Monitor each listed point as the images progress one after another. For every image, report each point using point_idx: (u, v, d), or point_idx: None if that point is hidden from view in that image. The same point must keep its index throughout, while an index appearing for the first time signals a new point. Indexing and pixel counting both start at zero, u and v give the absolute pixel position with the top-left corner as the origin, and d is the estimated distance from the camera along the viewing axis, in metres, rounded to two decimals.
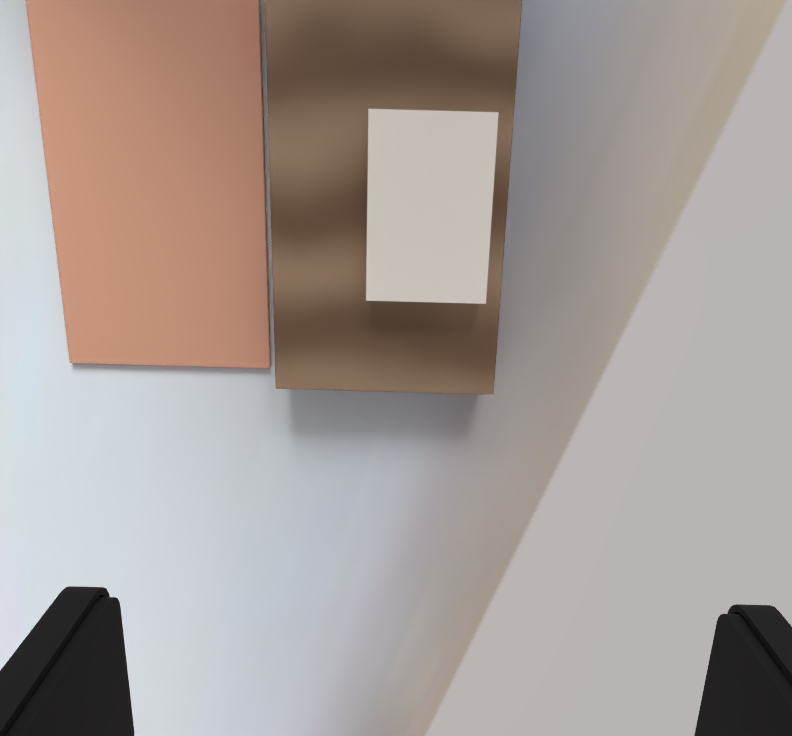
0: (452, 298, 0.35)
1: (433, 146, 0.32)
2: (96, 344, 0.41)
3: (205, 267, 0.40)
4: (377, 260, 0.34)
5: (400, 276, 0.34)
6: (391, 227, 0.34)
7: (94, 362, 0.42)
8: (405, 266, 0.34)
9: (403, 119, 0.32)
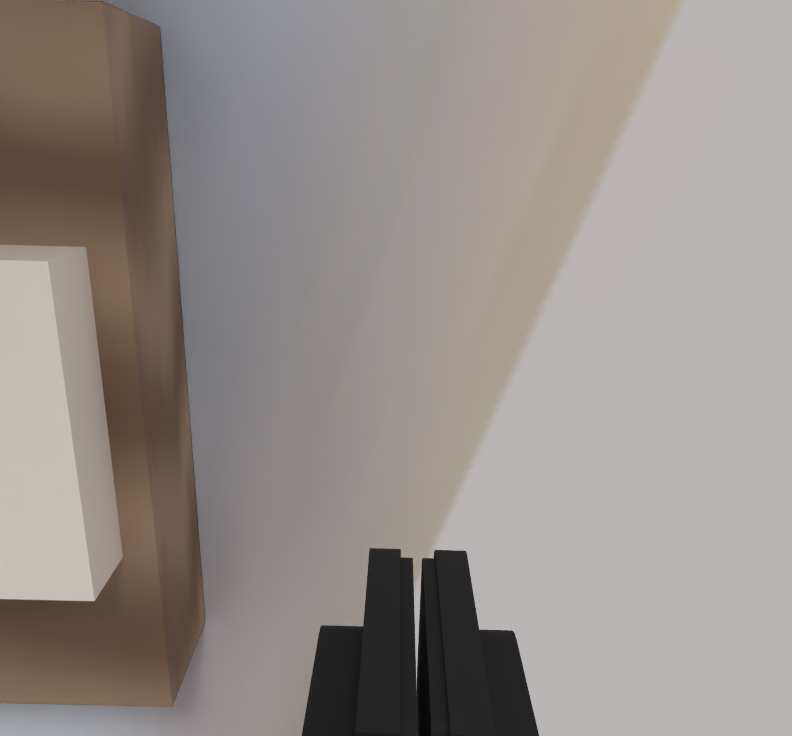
0: (29, 592, 0.18)
1: None
2: None
3: None
4: None
5: None
6: None
7: None
8: None
9: None
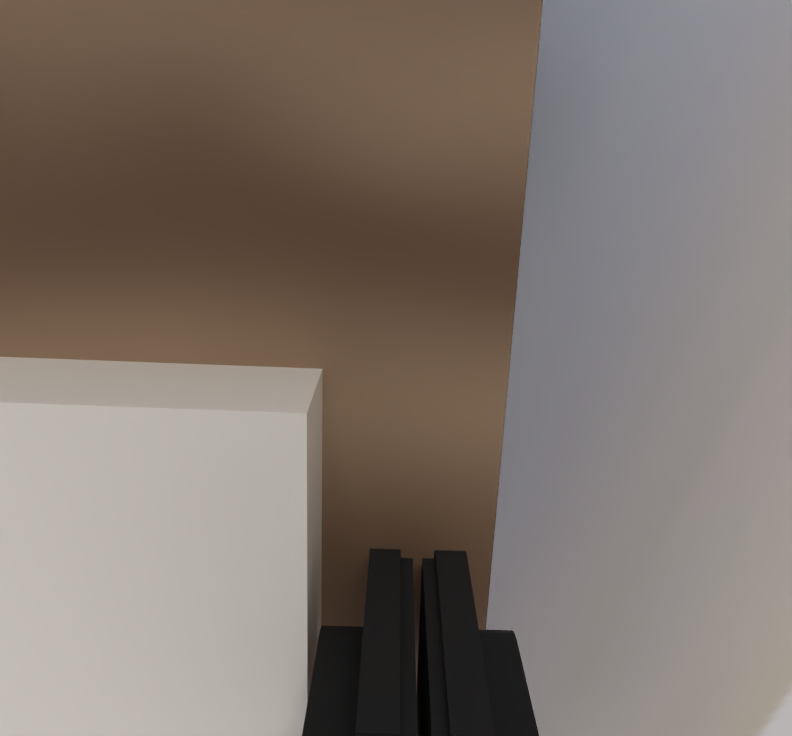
0: None
1: (98, 510, 0.10)
2: None
3: None
4: None
5: None
6: (1, 720, 0.11)
7: None
8: None
9: None
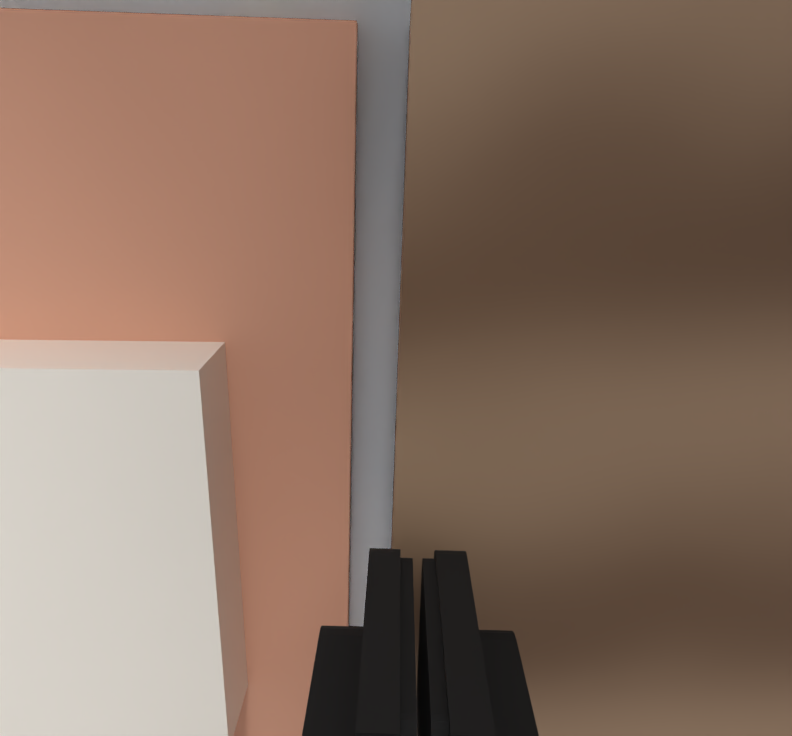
0: None
1: None
2: None
3: None
4: None
5: None
6: None
7: None
8: None
9: None
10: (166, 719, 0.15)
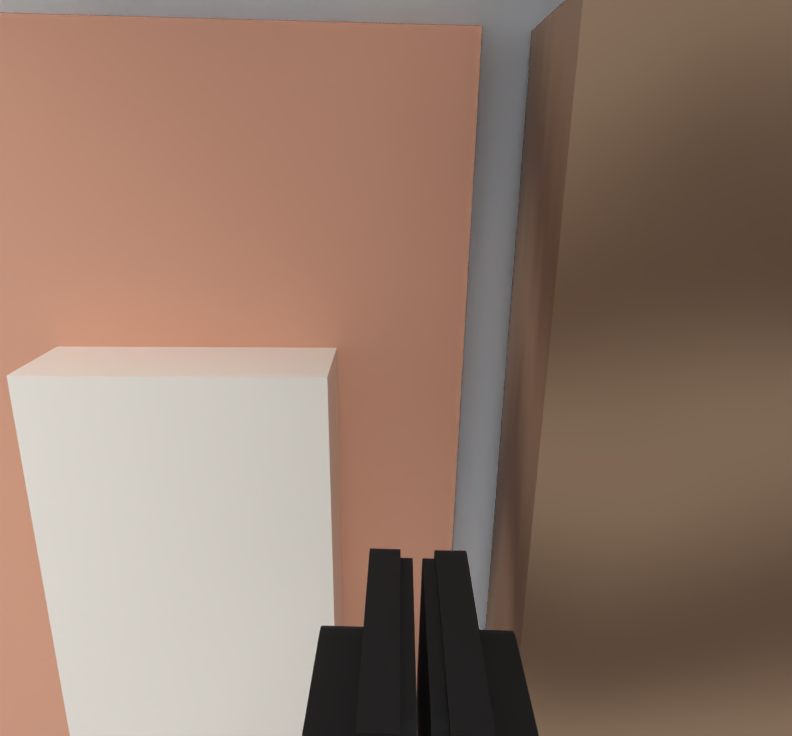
0: None
1: None
2: None
3: None
4: None
5: None
6: None
7: None
8: None
9: None
10: (276, 725, 0.15)
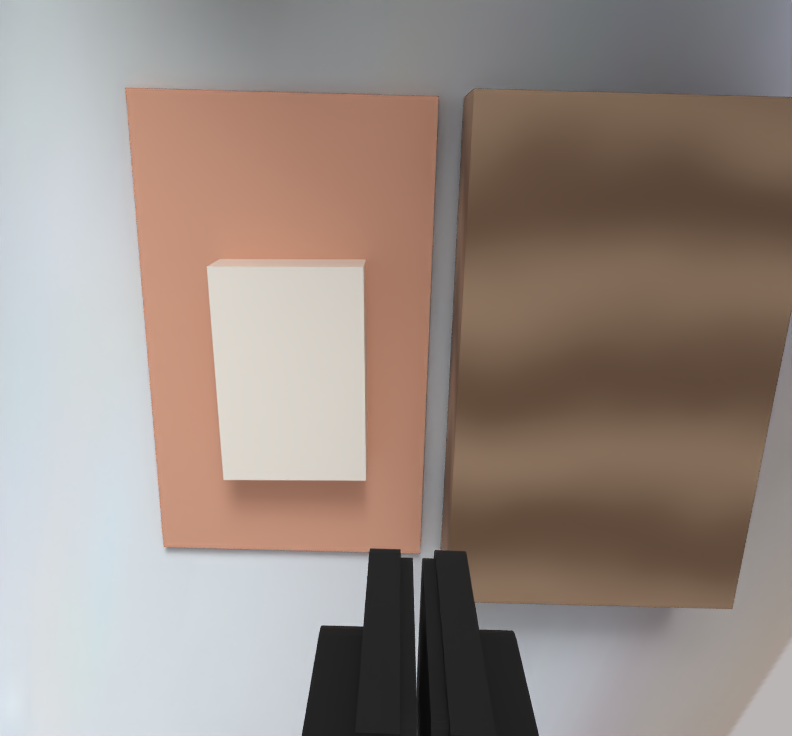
0: None
1: None
2: (198, 525, 0.32)
3: None
4: None
5: None
6: None
7: (195, 546, 0.32)
8: None
9: None
10: (333, 461, 0.29)
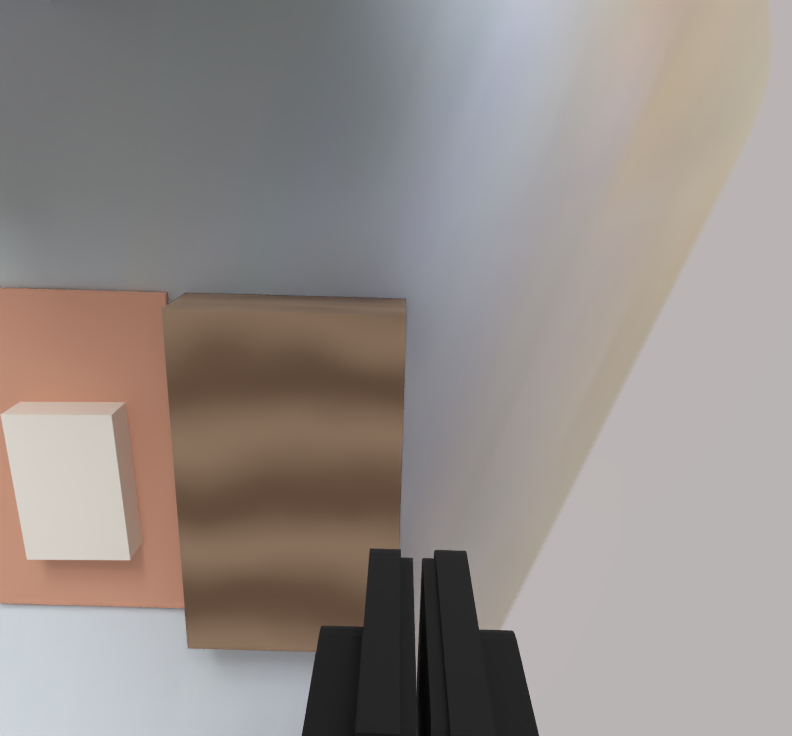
0: None
1: None
2: (22, 587, 0.43)
3: None
4: None
5: None
6: None
7: (20, 602, 0.43)
8: None
9: None
10: (105, 547, 0.40)
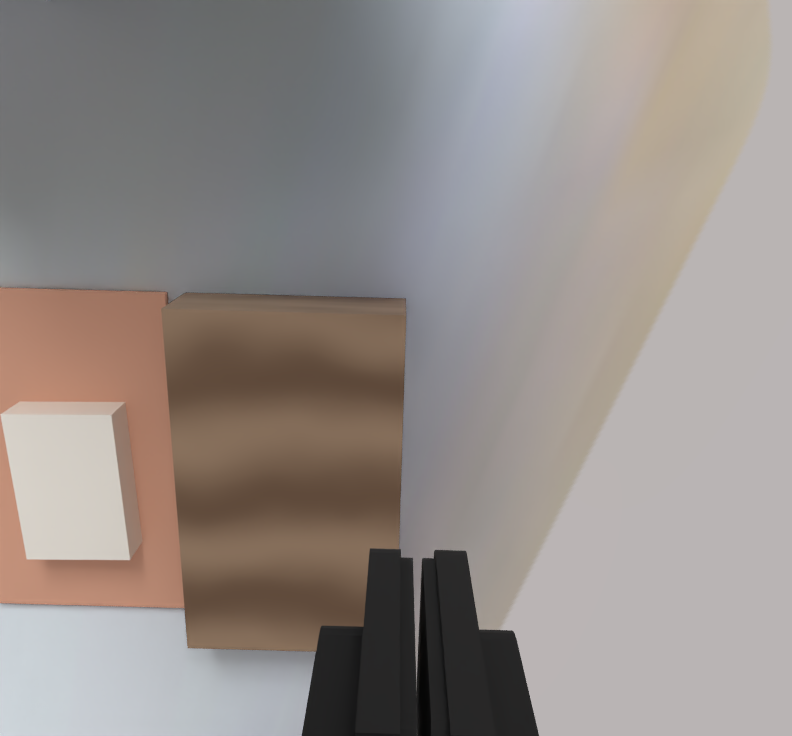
0: None
1: None
2: (21, 587, 0.43)
3: None
4: None
5: None
6: None
7: (20, 602, 0.43)
8: None
9: None
10: (104, 547, 0.40)
